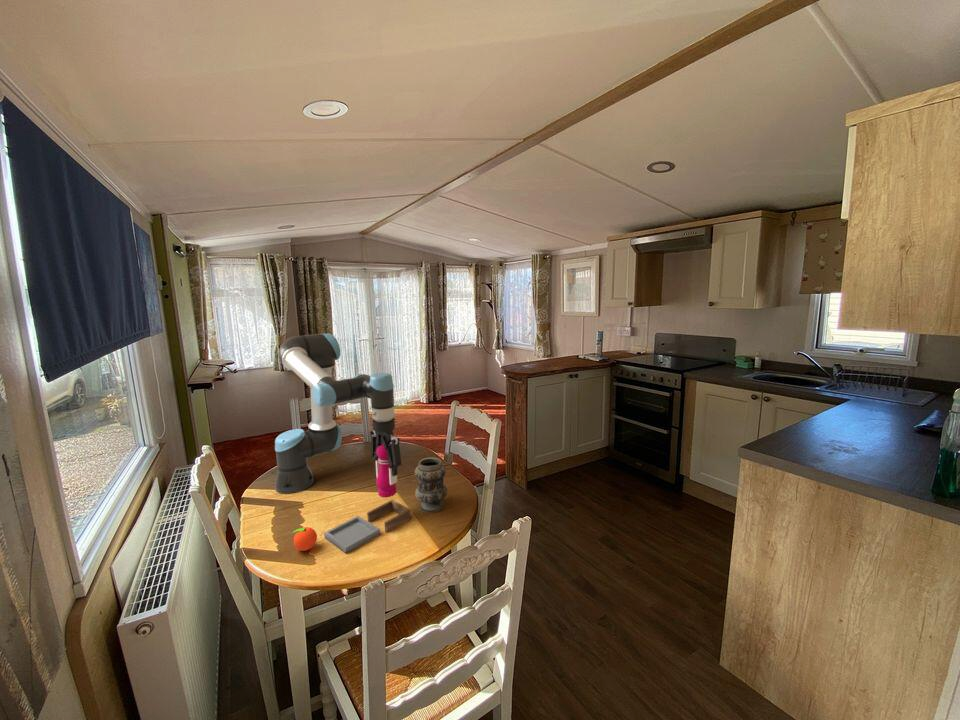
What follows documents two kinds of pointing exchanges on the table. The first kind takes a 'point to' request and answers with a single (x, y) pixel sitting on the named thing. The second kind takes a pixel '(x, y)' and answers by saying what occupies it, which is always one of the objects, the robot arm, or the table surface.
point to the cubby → (387, 507)
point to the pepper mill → (384, 474)
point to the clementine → (305, 538)
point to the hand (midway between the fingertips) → (386, 479)
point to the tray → (351, 534)
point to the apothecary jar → (430, 485)
